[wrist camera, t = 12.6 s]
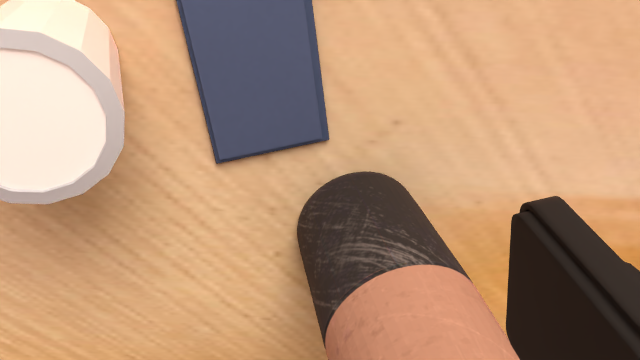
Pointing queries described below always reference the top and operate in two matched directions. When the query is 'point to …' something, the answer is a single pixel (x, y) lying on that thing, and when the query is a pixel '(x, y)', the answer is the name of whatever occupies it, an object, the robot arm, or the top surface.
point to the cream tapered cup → (56, 101)
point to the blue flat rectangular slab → (256, 74)
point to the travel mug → (389, 278)
